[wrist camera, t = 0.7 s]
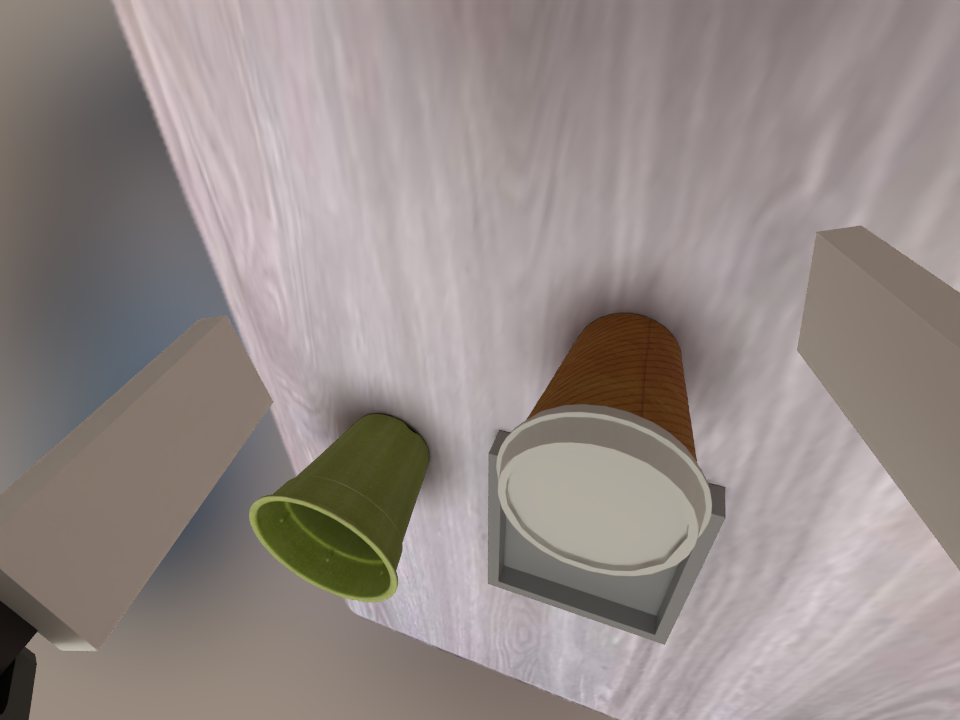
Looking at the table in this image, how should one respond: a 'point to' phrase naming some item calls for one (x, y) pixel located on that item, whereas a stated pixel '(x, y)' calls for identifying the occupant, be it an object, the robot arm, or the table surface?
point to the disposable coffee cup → (609, 455)
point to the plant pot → (348, 510)
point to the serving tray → (594, 573)
